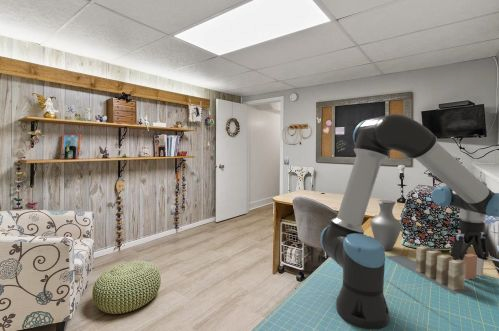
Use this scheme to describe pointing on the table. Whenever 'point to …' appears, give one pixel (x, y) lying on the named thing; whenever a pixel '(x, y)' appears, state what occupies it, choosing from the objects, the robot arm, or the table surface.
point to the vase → (386, 225)
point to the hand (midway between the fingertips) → (468, 275)
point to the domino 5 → (470, 266)
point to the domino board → (412, 266)
